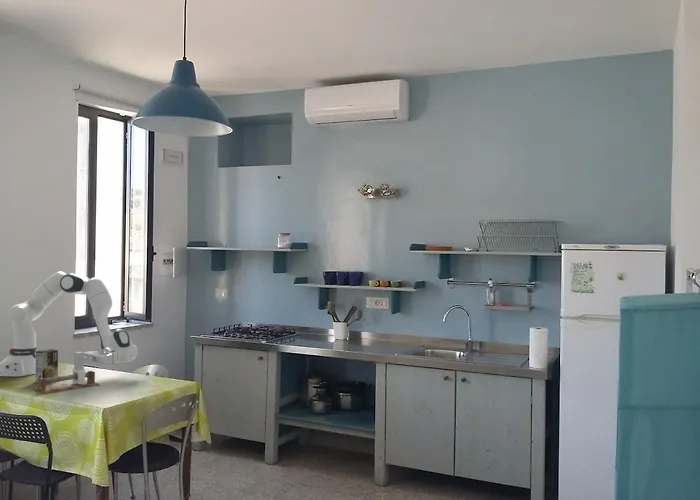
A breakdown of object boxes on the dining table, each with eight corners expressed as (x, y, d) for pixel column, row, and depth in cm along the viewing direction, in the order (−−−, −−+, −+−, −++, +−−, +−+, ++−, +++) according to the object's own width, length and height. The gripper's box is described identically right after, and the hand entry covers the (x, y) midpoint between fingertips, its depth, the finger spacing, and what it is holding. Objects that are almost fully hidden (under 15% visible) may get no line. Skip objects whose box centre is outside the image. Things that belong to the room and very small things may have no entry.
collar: (78, 381, 330) (78, 351, 330) (84, 383, 326) (85, 352, 325) (72, 382, 328) (73, 351, 328) (79, 384, 323) (79, 353, 323)
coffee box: (50, 378, 342) (51, 348, 342) (58, 380, 339) (58, 349, 338) (34, 381, 334) (35, 350, 334) (42, 383, 331) (42, 352, 331)
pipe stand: (88, 381, 337) (88, 369, 337) (99, 385, 329) (99, 372, 329) (33, 390, 316) (33, 376, 316) (43, 394, 308) (44, 380, 308)
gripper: (98, 347, 345) (73, 350, 335) (118, 352, 332) (92, 355, 322) (98, 359, 345) (73, 362, 335) (117, 364, 332) (92, 368, 322)
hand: (82, 359), depth 328 cm, fingers closed
